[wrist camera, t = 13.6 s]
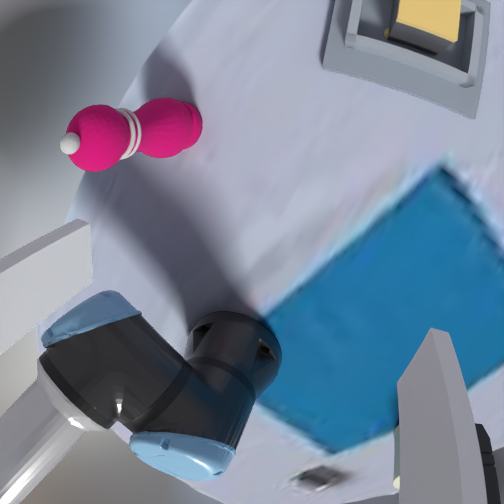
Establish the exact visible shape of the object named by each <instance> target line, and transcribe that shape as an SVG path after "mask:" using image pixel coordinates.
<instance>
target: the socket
mask: <svg viewBox="0 0 504 504" xmlns="http://www.w3.org/2000/svg"><path fill="white" fill-rule="evenodd" d="M392 7H393V0H335V5H334V10H333V15H332V20H331V25H330V30H329V35H328V40H327V45H326V50H325V55H324V60H323V65H322V68H323V69H324V70H329V71H333V72H337V73H341V74H345V75H349V76H353V77H356V78H360V79H364V80H367V81H371V82H374V83H377V84H380V85H384V86H387V87H390V88H393V89H396V90H399V91H402V92H405V93H408V94H411V95H413V96H416V97H419V98H422V99H424V100H427V101H429V102H432V103H435V104H437V105H440V106H442V107H444V108H447V109H449V110H452V111H454V112H456V113H458V114H461V115H463V116H465V117H467V118H470V119H475V118H476V113H477V108H478V104H479V98H480V93H481V88H482V82H483V75H484V69H485V62H486V54H487V45H488V35H489V23H490V2H488V1H486V0H461V9H460V20H459V30H458V39H457V41H456V42H454V43H453V44H451V45H450V46H448V47H447V48H445V49H444V50H443V51H441V52H440V53H438V54H437V55H435V56H434V55H432V54H429V53H426V52H424V51H421V50H418V49H415V48H413V47H410V46H407V45H404V44H401V43H398V42H394V41H391V40H388V39H387V38H388V32H389V26H390V20H391V13H392Z"/></svg>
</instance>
